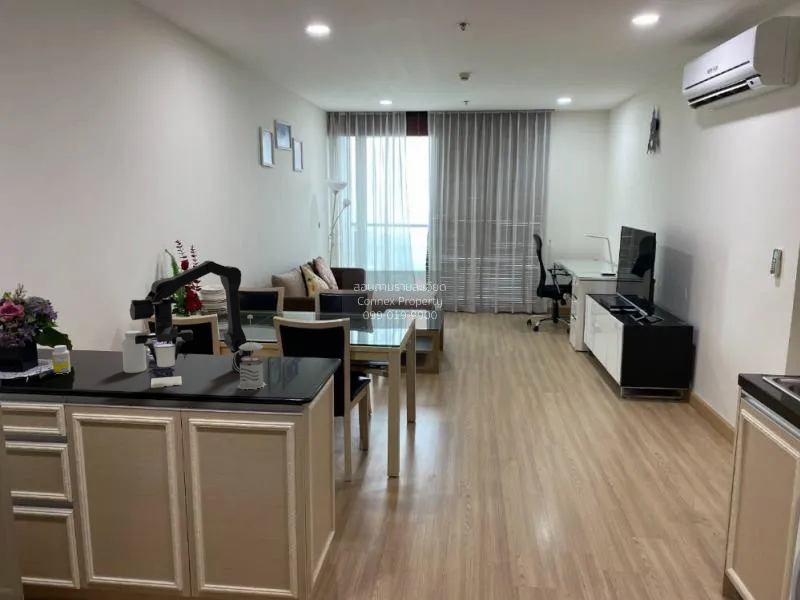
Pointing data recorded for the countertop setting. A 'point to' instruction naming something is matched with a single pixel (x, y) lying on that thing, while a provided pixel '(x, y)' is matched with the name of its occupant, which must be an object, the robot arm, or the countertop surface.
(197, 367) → the countertop surface
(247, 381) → the french press
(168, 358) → the shot glass
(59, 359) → the supplement bottle
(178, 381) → the coaster
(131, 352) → the pill bottle
